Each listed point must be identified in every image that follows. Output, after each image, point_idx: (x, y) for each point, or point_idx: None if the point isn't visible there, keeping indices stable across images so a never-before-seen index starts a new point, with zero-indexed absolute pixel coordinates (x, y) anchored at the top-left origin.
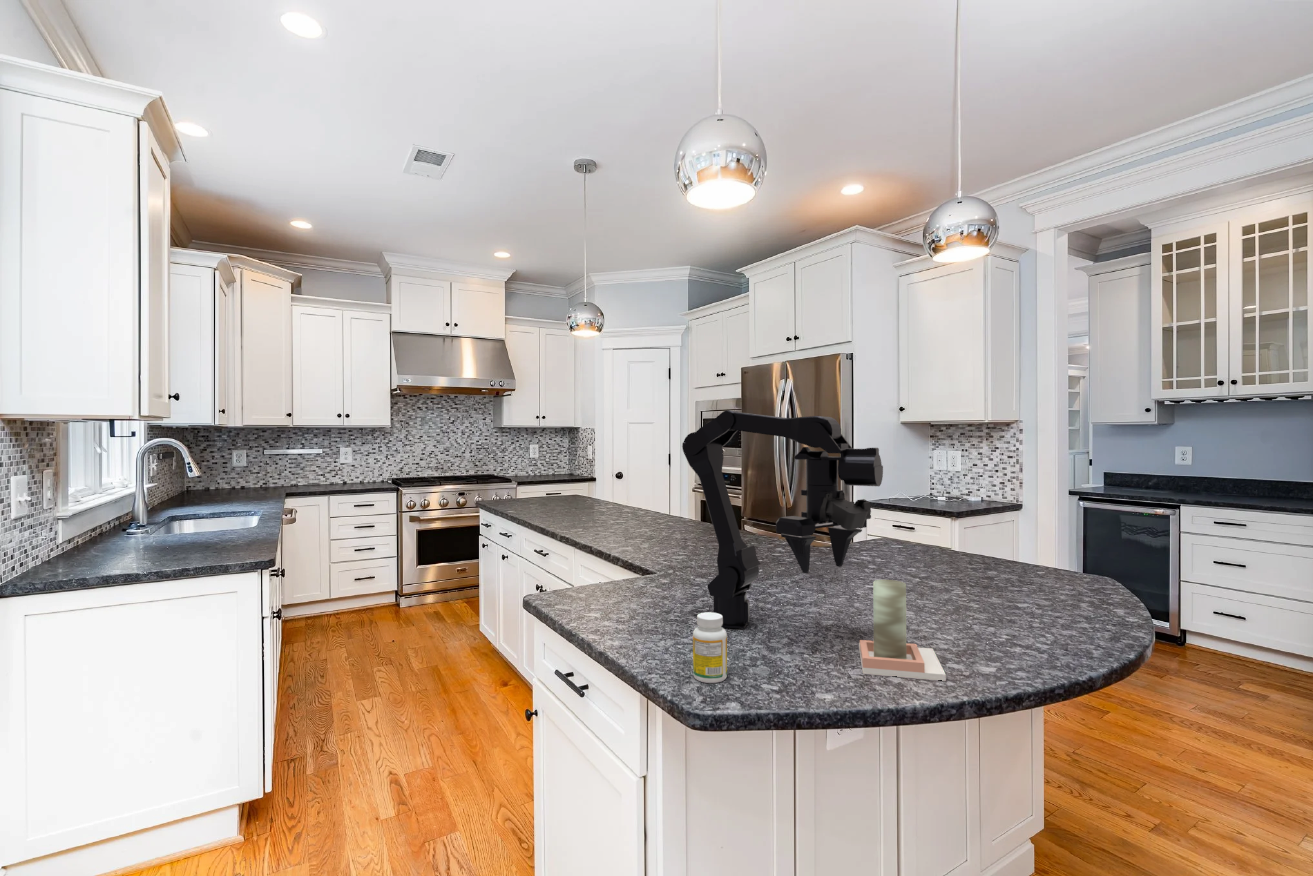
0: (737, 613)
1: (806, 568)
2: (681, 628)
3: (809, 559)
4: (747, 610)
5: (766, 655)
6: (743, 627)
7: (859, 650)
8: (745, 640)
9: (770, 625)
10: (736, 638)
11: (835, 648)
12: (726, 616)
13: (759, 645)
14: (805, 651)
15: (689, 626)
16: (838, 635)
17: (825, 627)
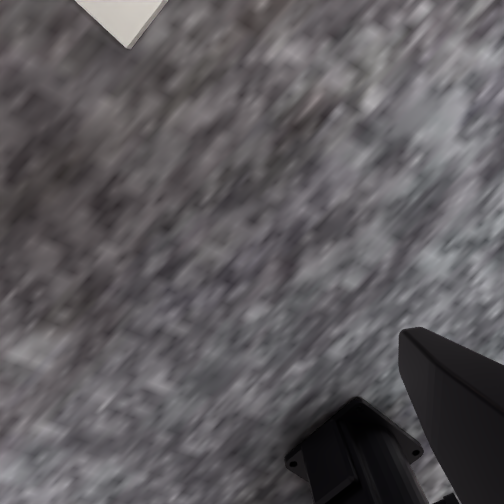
0: (376, 453)
1: (459, 345)
2: None
3: (498, 397)
4: (344, 454)
5: (481, 172)
6: (360, 401)
7: (156, 13)
8: (425, 317)
9: (251, 398)
10: None
11: (216, 105)
12: (403, 456)
13: (425, 261)
14: (340, 137)
15: None
16: (98, 219)
17: (85, 310)
